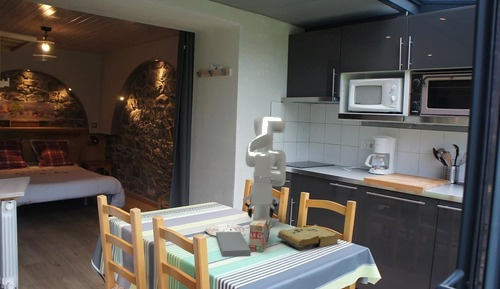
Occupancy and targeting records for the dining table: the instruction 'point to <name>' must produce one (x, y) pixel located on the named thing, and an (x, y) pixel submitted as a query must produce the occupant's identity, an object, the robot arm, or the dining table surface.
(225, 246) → the grey plinth
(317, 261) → the dining table surface
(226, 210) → the dining table surface
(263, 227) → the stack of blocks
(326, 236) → the book
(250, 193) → the robot arm
